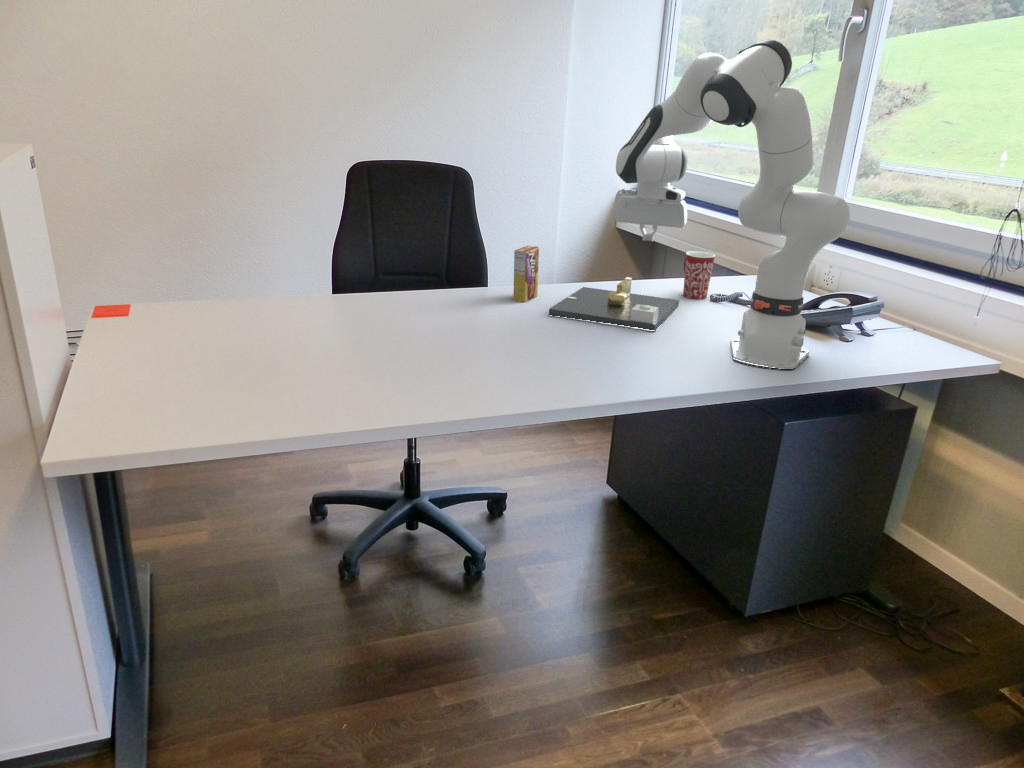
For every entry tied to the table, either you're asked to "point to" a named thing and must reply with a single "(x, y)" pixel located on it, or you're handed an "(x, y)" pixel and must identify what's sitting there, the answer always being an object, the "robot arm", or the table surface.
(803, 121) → the robot arm
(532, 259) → the candy box
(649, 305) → the base plate
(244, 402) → the table surface
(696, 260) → the mug
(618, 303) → the brass lever knob
